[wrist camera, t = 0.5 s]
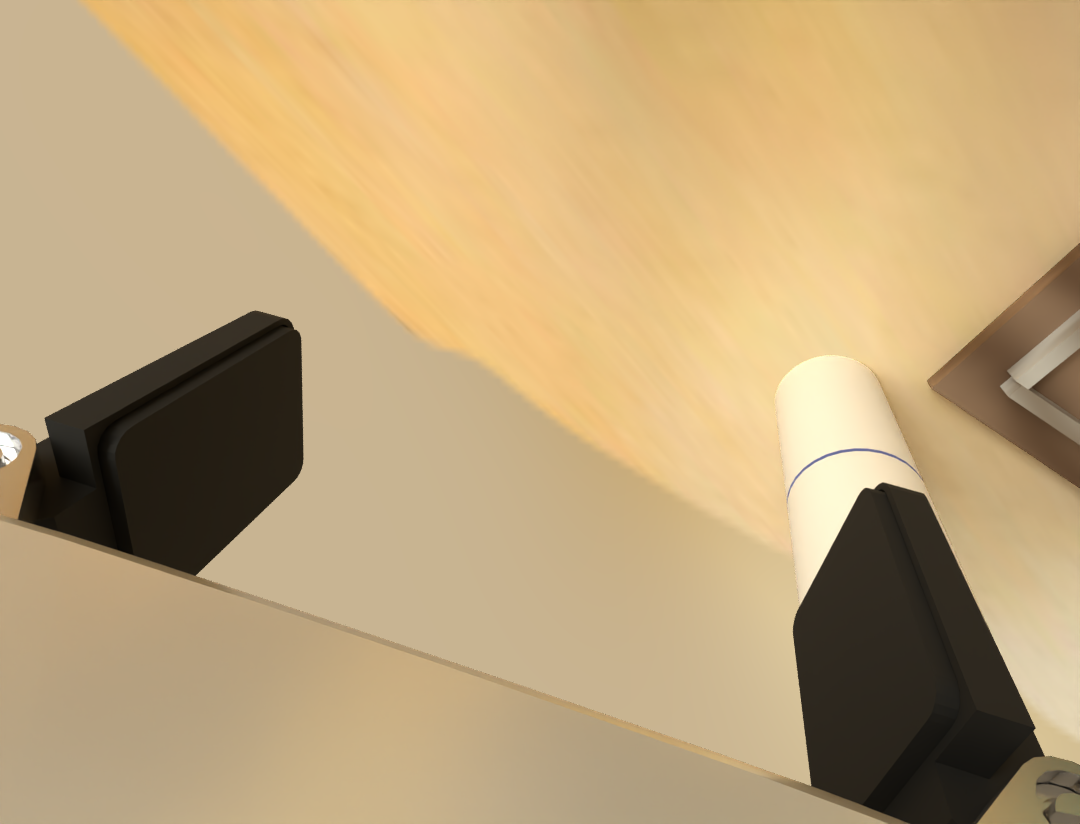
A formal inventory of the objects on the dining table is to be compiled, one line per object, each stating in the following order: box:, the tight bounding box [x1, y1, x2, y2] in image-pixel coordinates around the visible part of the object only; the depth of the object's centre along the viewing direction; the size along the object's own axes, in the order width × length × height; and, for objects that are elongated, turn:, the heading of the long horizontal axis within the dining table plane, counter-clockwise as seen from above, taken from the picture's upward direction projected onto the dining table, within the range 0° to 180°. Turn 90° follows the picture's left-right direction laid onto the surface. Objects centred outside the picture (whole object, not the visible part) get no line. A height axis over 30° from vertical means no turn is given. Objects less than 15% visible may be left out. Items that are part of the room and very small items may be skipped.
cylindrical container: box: [775, 355, 992, 635], centre depth 36 cm, size 7×7×25 cm
